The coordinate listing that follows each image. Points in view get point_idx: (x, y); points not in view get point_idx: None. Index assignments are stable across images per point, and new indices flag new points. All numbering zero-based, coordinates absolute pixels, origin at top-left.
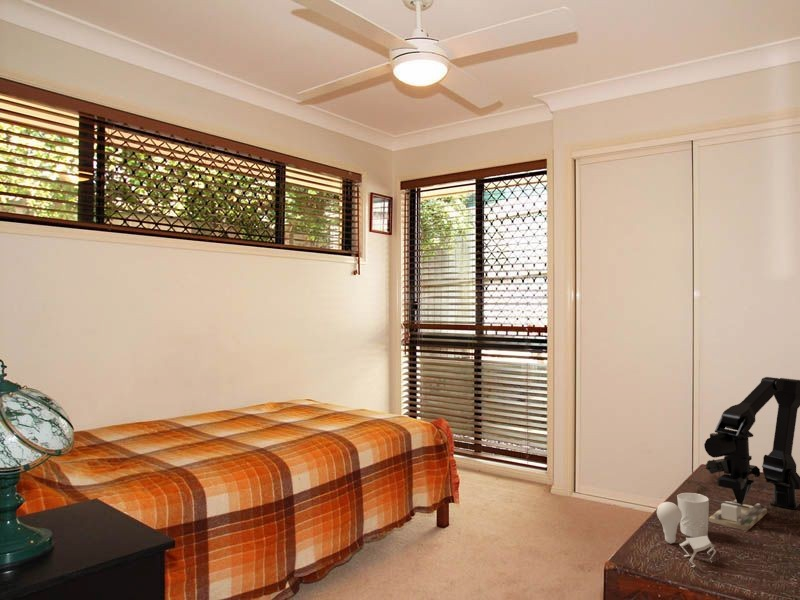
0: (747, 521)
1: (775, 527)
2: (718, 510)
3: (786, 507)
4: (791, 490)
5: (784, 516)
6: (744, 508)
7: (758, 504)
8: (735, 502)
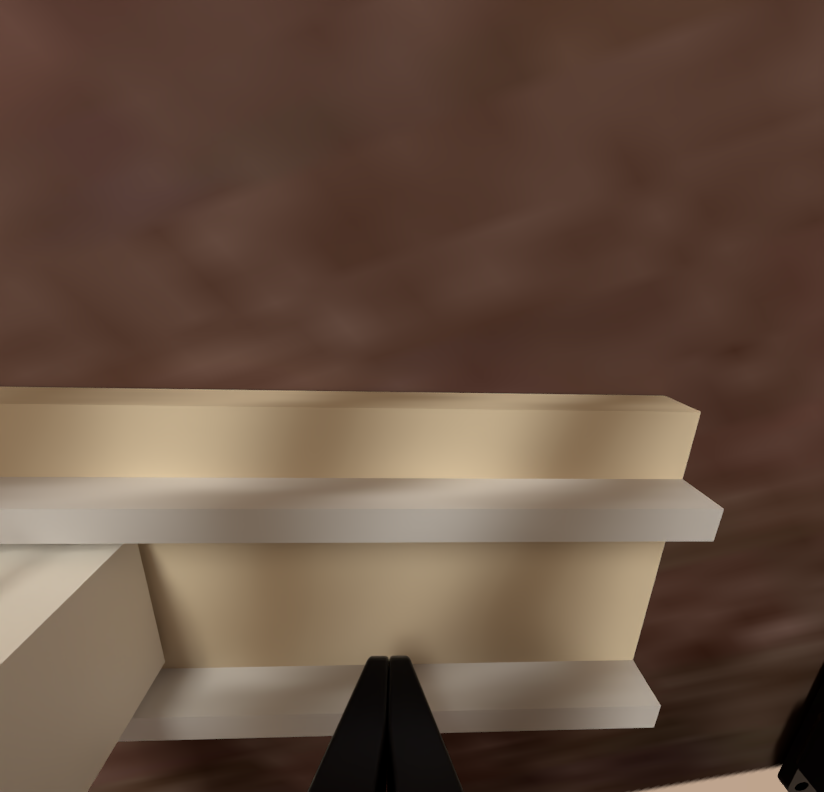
0: None
1: (296, 781)
2: (229, 408)
3: (796, 748)
4: None
5: (586, 764)
6: (512, 594)
7: (618, 723)
8: (565, 537)
